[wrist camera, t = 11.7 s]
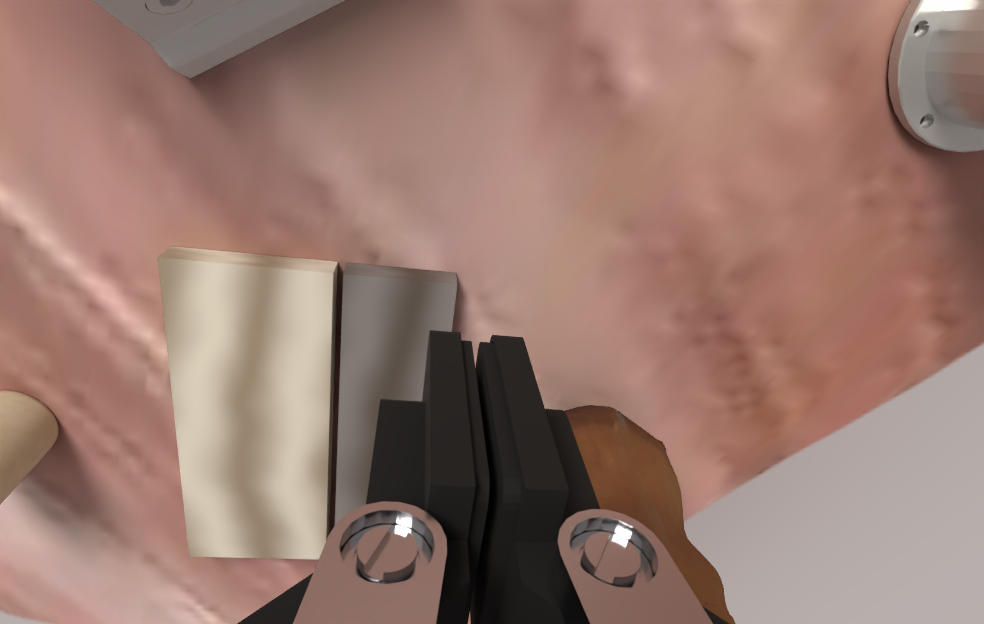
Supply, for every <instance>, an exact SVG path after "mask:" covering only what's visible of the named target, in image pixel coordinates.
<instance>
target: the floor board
mask: <svg viewBox="0 0 984 624" xmlns="http://www.w3.org/2000/svg"><path fill="white" fill-rule="evenodd" d="M456 292H457V276H456V273H452V272H441V271H431V270H420V269H409V268H399V267H388V266H377V265H366V264H356V263H347V265H346V268H345V271H344V274H343V296H342V325H341V355H340V384H339V414H338V443H337V473H336V503H335V525H336V523H337V522H338V521H339V520H340V519H342V518H343V517H344V516H345V515H346V514H348V513H349V512H350V511H352V510H355V509H357V508H359V507H361V506H363V505H366V500H367V493H368V485H369V478H370V471H371V463H372V456H373V449H374V441H375V434H376V427H377V419H378V412H379V405H380V399H390V400H406V401H422V397H423V387H424V377H425V368H426V358H427V348H428V339H429V332H430V330H435V331H447V332H452V325H453V317H454V309H455V301H456Z"/></svg>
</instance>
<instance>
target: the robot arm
mask: <svg viewBox="0 0 984 624" xmlns="http://www.w3.org/2000/svg"><path fill="white" fill-rule="evenodd" d="M888 82H889V94H890V98H891V102H892V105H893V108H894V112H895V114H896V115H897V117H898V119H899V121H900V122H901V124H902V126H903V127H904V128H905V129H906V130H907V131H908V132H909V133H910V134H911V135H912V136H913V137H914V138H915V139H917V140H919V141H921V142H923V143H924V144H926V145H928V146H932V147H935V148H939V149H942V150H947V151H954V152H961V153H963V152H976V151H983V150H984V0H911V2H910V3H909V5H908V7H907V8H906V10H905V12H904V15H903V17H902V19H901V22H900V24H899V26H898V29H897V31H896V34H895V38H894V42H893V45H892V49H891V53H890V60H889V70H888ZM469 612H470V617H471V624H729V623H727V622H726V621H724V620H723V619H721V618H720V617H718V616H717V615H715V614H714V613H712V612H711V611H709V610H708V609H706V608H705V607H703V606H702V605H701V604H700V602H699V601H698V599H697V597H696V596H695V594H694V593H693V591H692V590H691V588H690V586H689V585H688V583H687V582H686V580H685V578H684V577H683V575H682V574H681V572H680V571H679V569H678V567H677V566H676V564H675V563H674V561H673V559H672V558H671V556H670V555H669V553H668V552H667V550H666V548H665V547H664V545H663V544H662V543H661V542H660V540H659V539H658V538H657V537H656V535H655V534H654V533H653V532H652V531H651V530H649V529H648V528H647V527H645V526H644V525H643V524H641V523H640V522H639V521H637V520H635V519H633V518H631V517H629V516H627V515H625V514H622V513H618V512H614V511H610V510H603V509H600V506H599V503H598V501H597V498H596V495H595V492H594V489H593V486H592V484H591V481H590V478H589V475H588V472H587V470H586V467H585V464H584V461H583V458H582V456H581V453H580V450H579V447H578V444H577V442H576V439H575V436H574V433H573V430H572V428H571V425H570V422H569V419H568V417H567V415H566V413H565V411H563V410H553V409H545V408H544V405H543V402H542V398H541V395H540V392H539V388H538V385H537V382H536V379H535V375H534V372H533V369H532V365H531V362H530V359H529V355H528V352H527V349H526V346H525V342H524V339H523V337H511V336H498V335H492V337H491V340H490V343H487V342H480V344H479V348H478V354H477V361H476V368H475V363H474V356H473V348H472V342H471V341H461V334H460V332H447V331H435V330H430V332H429V339H428V348H427V358H426V368H425V377H424V387H423V397H422V401H406V400H390V399H380V405H379V412H378V419H377V427H376V434H375V441H374V449H373V456H372V463H371V471H370V478H369V485H368V493H367V500H366V505H363V506H361V507H359V508H357V509H355V510H352V511H350V512H349V513H348V514H346V515H345V516H344V517H343V518H342V519H340V520H339V521H338V522H337V523H336V525H335V526H334V528H333V529H332V531H331V532H330V534H329V536H328V538H327V541H326V543H325V546H324V548H323V550H322V553H321V555H320V558H319V560H318V563H317V565H316V568H315V570H314V573H312V574H311V575H309V576H308V577H306V578H305V579H303V580H302V581H300V582H299V583H297V584H296V585H294V586H293V587H291V588H290V589H288V590H287V591H286V592H284V593H283V594H281V595H280V596H278V597H277V598H275V599H274V600H272V601H271V602H269V603H268V604H266V605H265V606H263V607H262V608H260V609H259V610H257V611H256V612H254V613H253V614H251V615H250V616H248V617H247V618H245V619H244V620H242V621H241V622H239V623H238V624H467V623H468V618H469Z"/></svg>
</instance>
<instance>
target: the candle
mask: <svg viewBox="0 0 984 624" xmlns="http://www.w3.org/2000/svg"><path fill="white" fill-rule="evenodd" d="M58 433H59V428H58V423H57V421H56V418H55V417H54V415H53V414H52V412H51V411H50V410H49V409H48V408H47V407H46V406H45V405H44V404H43V403H41V402H40V401H38V400H37V399H35V398H33V397H31V396H29V395H26V394H23V393H20V392H16V391H7V390H1V391H0V504H1V503H2V502H3V501H4V500H5V499H6V498H7V496H8V495H9V494H10V493H11V492H12V491H13V490H14V489H15V488H16V487H17V485H18V484H19V483H20V482H21V481H22V480H23V479H24V478H25V477H26V476H27V474H28V473H29V472H30V471H31V470H32V469H33V468H34V467H35V466H36V465H37V463H38V462H39V461H40V460H41V459H42V458H43V457H44V456H45V455H46V453H47V452H48V451H49V450H50V449H51V448H52V446H53V445H54V443H55V441H56V440H57V437H58Z"/></svg>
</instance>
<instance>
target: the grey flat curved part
mask: <svg viewBox="0 0 984 624" xmlns="http://www.w3.org/2000/svg"><path fill="white" fill-rule="evenodd" d="M92 1H93V2H95V3H96V4H97V5H99V6H100V7H101V8H103V9H104V10H105V11H107V12H108V13H109V14H111V15H112V16H113V17H115V18H116V19H117V20H119V21H120V22H121V23H123V24H124V25H125V26H127V27H128V28H129V29H131V30H132V31H133V32H135V33H136V34H137V35H139V36H140V37H141V38H142V39H144V40H145V41H146V42H148V43H149V44H150V45H151V46H152V47H153V48H154V49H155V50H156V52H157V53H158V54H159V55H160V56H161V57H162V58H163V60H164V61H165V62H166V63H167V64H168V65H169V66H170V67H171V68H172V69H173V70H174V71H176V72H178V73H180V74H182V75H184V76H186V77H188V78H190V79H191V78H193V77H195V76H197V75H199V74H200V73H202V72H204V71H206V70H208V69H210V68H212V67H214V66H216V65H218V64H220V63H222V62H224V61H226V60H228V59H230V58H232V57H234V56H236V55H238V54H240V53H242V52H244V51H246V50H248V49H250V48H252V47H254V46H256V45H258V44H260V43H262V42H264V41H266V40H268V39H270V38H272V37H274V36H276V35H278V34H280V33H282V32H284V31H286V30H288V29H290V28H292V27H294V26H296V25H298V24H300V23H302V22H304V21H306V20H308V19H310V18H312V17H314V16H316V15H318V14H320V13H322V12H324V11H326V10H328V9H330V8H332V7H334V6H336V5H338V4H340V3H342V2H344V1H346V0H92Z"/></svg>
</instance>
